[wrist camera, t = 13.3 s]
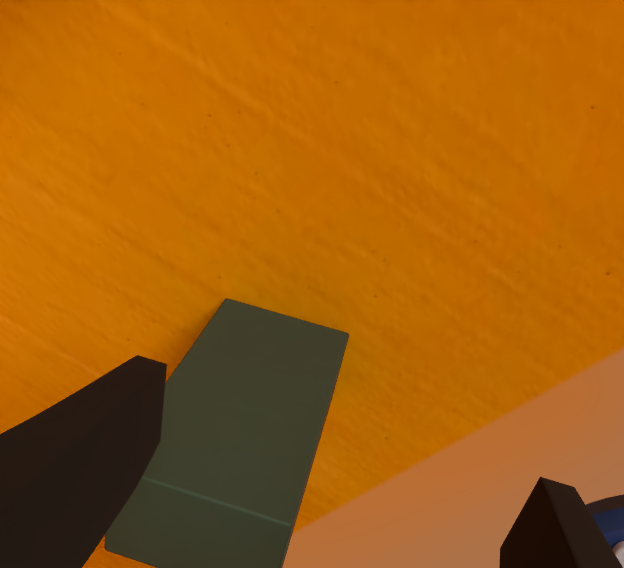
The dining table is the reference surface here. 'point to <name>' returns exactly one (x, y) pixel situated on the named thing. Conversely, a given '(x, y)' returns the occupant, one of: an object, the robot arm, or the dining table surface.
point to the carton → (233, 444)
